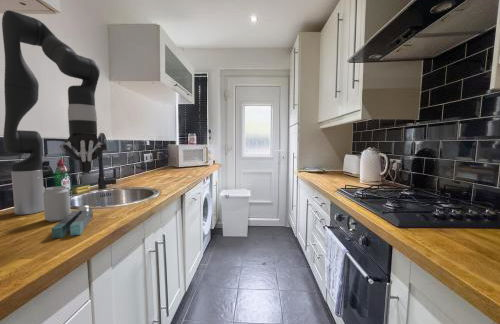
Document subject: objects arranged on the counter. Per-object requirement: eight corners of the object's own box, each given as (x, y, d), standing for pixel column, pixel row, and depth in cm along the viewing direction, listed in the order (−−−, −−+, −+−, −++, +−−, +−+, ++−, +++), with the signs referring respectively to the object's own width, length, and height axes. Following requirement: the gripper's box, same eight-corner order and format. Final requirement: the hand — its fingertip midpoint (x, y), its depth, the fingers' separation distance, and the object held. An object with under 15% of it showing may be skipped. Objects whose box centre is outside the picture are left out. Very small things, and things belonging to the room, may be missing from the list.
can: (73, 215, 93) (71, 184, 93) (67, 220, 87) (65, 188, 86) (49, 217, 91) (47, 186, 90) (41, 223, 84) (38, 189, 83)
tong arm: (85, 217, 90) (84, 209, 90) (93, 216, 91) (92, 208, 91) (70, 235, 72) (69, 225, 71) (80, 234, 73) (79, 224, 72)
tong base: (76, 216, 92) (75, 206, 91) (90, 215, 93) (89, 204, 93) (52, 238, 70) (51, 225, 70) (70, 236, 72) (70, 223, 71)
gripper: (98, 121, 85) (100, 170, 86) (53, 118, 74) (56, 174, 75) (110, 120, 81) (112, 171, 82) (63, 117, 70) (67, 176, 71)
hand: (85, 172), depth 79 cm, fingers closed
